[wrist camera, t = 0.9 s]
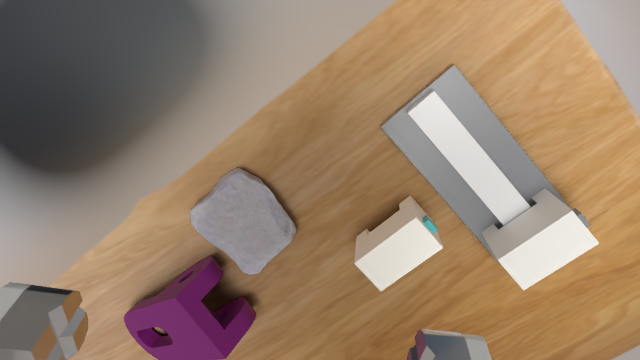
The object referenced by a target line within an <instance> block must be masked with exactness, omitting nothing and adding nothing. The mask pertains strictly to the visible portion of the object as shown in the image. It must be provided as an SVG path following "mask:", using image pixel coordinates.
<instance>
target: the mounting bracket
mask: <svg viewBox="0 0 640 360" xmlns="http://www.w3.org/2000/svg"><path fill="white" fill-rule="evenodd" d="M222 275H223V270H222V269H221V268H220V266H219V265H218V264H217V263H216V261H215V260H214V259H213V258H212V256H209V257H206V258H204V259H203V260H201V261H199V262H198V263H196V264H194V265H193V266H191V267H190V268H188V269H187V270H186V271H184V272H183V273H182V274H181V275H179V276H178V277H177V278H176V279H175V280H174V281H173V282H172V283H170V284H169V285H168V286H167V287H166V288H165V289H164V290H163V291H162V292H161V293H159V294H158V295H156V296H154V297H151V298H148V299H145V300H142V301H140V302H138V303H137V304H136V305H135V306H134V307H133V308H131V309H130V310H129V311H128V312H127V313H126V314H125V316H124V321H125V324H126V327H127V329H128V330H129V332H130V334H131V335H132V336H133V338H134V339H135V340H136V341H137V342H138V343H139V344H140V346H142V347H143V348H144V349H145V350H146V351H147V352H148V353H150V354H151V355H152V356H154V357H155V358H157V359H159V360H217V359H226V358H227V356H228V355H229V354H230V353H231V351H232V350H233V349H234V347H235V346H236V345H237V344H238V342H239V341H240V340H241V338H242V337H243V336H244V334H245V333H246V332H247V331H248V329H249V328H250V327H251V325H252V324H253V322H254V320H255V317H256V312H255V311H254V309H253V308H252V307H251V306H250V304H249V303H248V302H247V301H246V299H245V298H244V297H237V298H235V299H233V300H232V301H230V302H228V303H226V304H225V305H223V306H221V307H220V308H219V309H217V310H216V311H215V312H214V313H213V314H211V313H210V312H209V310H208V309H207V308H206V307H205V306H204V304H203V303H202V302H201V300H202V299H203V297H204V296H205V295H206V294H207V293H208V292H209V291H210V290H211V289H212V288H213V287H214V286H215V285H216V284H217V283H218V281H219V280H220V279H221V277H222ZM152 327H159V328H161V329H163V330H164V331H165V332H167V333H168V335H169V336H161V335H159V334H157V333H156V332H155V331H154V330H153V329H152Z"/></svg>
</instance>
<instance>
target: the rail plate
mask: <svg viewBox="0 0 640 360" xmlns="http://www.w3.org/2000/svg"><path fill="white" fill-rule="evenodd" d="M380 126H381V128H382V129H383V130H384V132H385V133H386V134H387V135H388V136H389V137H390V138H391V140H392V141H393V142H394V143H395V144H396V145H397V146H398V148H399V149H400V150H401V151H402V152H403V153H404V154H405V156H406V157H407V158H408V159H409V160H410V161H411V162H412V164H413V165H414V166H415V167H416V168H417V169H418V171H419V172H420V173H421V174H422V175H423V176H424V177H425V179H426V180H427V181H428V182H429V183H430V184H431V185H432V187H433V188H434V189H435V190H436V191H437V192H438V193H439V195H440V196H441V197H442V198H443V199H444V200H445V202H446V203H447V204H448V205H449V206H450V207H451V208H452V210H453V211H454V212H455V213H456V214H457V215H458V216H459V218H460V219H461V220H462V221H463V222H464V223H465V224H466V226H467V227H468V228H469V229H470V230H471V231H472V232H473V234H474V235H475V236H476V237H477V238H478V239H479V241H480V242H481V243H482V244H483V245H484V246H485V247H486V249H487V250H488V251H489V252H490V253H491V254H492V255H493V257H494V258H495V259H496V257H495V255H494V254H493V252H492V250H491V248H490V247H489V245H488V243H487V242H486V240H485V238H484V237H483V235H482V233H481V232H482V231H484V230H485V229H487V228H488V227H489V226H491V225H492V224H494V225H495V226H496V227H497V228H498V229H500V228H502V227H503V226H505V225H506V224H508V223H509V222H510V221H512V220H513V219H515V218H516V217H518V216H519V215H521V214H522V213H524V212H525V211H527V210H528V209H529V208H531V207H532V206H534V205H535V204H536V203H535V201H534V200H533V199H532V198H531V197H533V196H534V195H536V194H537V193H539V192H540V191H541V190H543V189H544V188H546V189H547V190H548V191H549V192H550V193H552V194H553V195H554V196H555V197H557V198H558V199H559V200H560V201H562V202H563V203H564V204H565V205H566V206H568V207H569V205H568V204H567V203H566V202H565V201H564V199H563V198H562V197H561V196H560V194H559V193H558V192H557V191H556V189H555V188H554V187H553V186H552V185H551V183H550V182H549V181H548V180H547V178H546V177H545V176H544V175H543V173H542V172H541V171H540V170H539V169H538V167H537V166H536V165H535V164H534V162H533V161H532V160H531V159H530V157H529V156H528V155H527V154H526V153H525V151H524V150H523V149H522V148H521V146H520V145H519V144H518V143H517V141H516V140H515V139H514V138H513V137H512V135H511V134H510V133H509V132H508V130H507V129H506V128H505V127H504V125H503V124H502V123H501V122H500V121H499V119H498V118H497V117H496V116H495V114H494V113H493V112H492V111H491V109H490V108H489V107H488V106H487V105H486V103H485V102H484V101H483V100H482V98H481V97H480V96H479V95H478V93H477V92H476V91H475V90H474V89H473V87H472V86H471V85H470V84H469V82H468V81H467V80H466V79H465V77H464V76H463V75H462V74H461V72H460V71H459V70H458V69H457V68H456V66H455V65H451V66H450V67H449V68H448V69H447V70H445V71H444V72H443V73H442V74H441V75H440V76H438V77H437V78H436V79H435V80H434V81H432V82H431V83H430V84H429V85H428V86H427V87H425V88H424V89H423V90H422V91H421V92H419V93H418V94H417V95H416V96H415V97H414V98H412V99H411V100H410V101H409V102H408V103H406V104H405V105H404V106H403V107H402V108H401V109H399V110H398V111H397V112H396V113H395V114H393V115H392V116H391V117H390V118H389V119H388V120H386V121H385V122H384V123H383V124H382V125H380ZM569 208H570V207H569ZM570 209H571V208H570ZM571 210H572V209H571ZM496 260H497V259H496ZM497 261H498V260H497ZM498 262H499V261H498Z"/></svg>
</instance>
